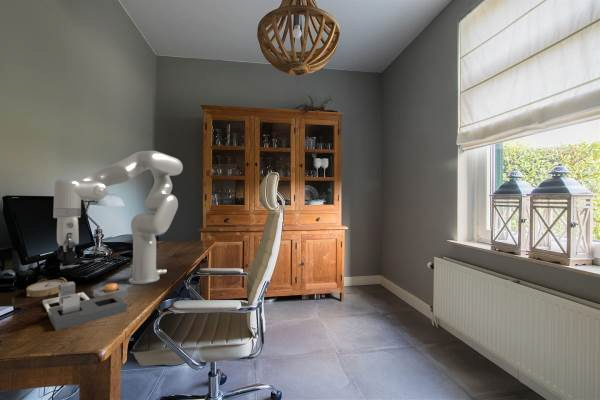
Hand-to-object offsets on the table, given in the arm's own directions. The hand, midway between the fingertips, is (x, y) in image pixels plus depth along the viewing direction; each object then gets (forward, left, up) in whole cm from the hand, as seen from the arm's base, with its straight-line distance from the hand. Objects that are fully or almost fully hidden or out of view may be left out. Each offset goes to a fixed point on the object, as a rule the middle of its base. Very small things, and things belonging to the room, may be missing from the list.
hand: (65, 260), depth 98 cm
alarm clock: (+2, -22, -16) cm, 28 cm away
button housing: (-13, +4, -16) cm, 21 cm away
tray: (0, 0, -16) cm, 16 cm away
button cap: (-13, +4, -13) cm, 19 cm away
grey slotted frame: (-3, +17, -16) cm, 23 cm away
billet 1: (0, 0, -16) cm, 16 cm away
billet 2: (+1, +17, -15) cm, 23 cm away
